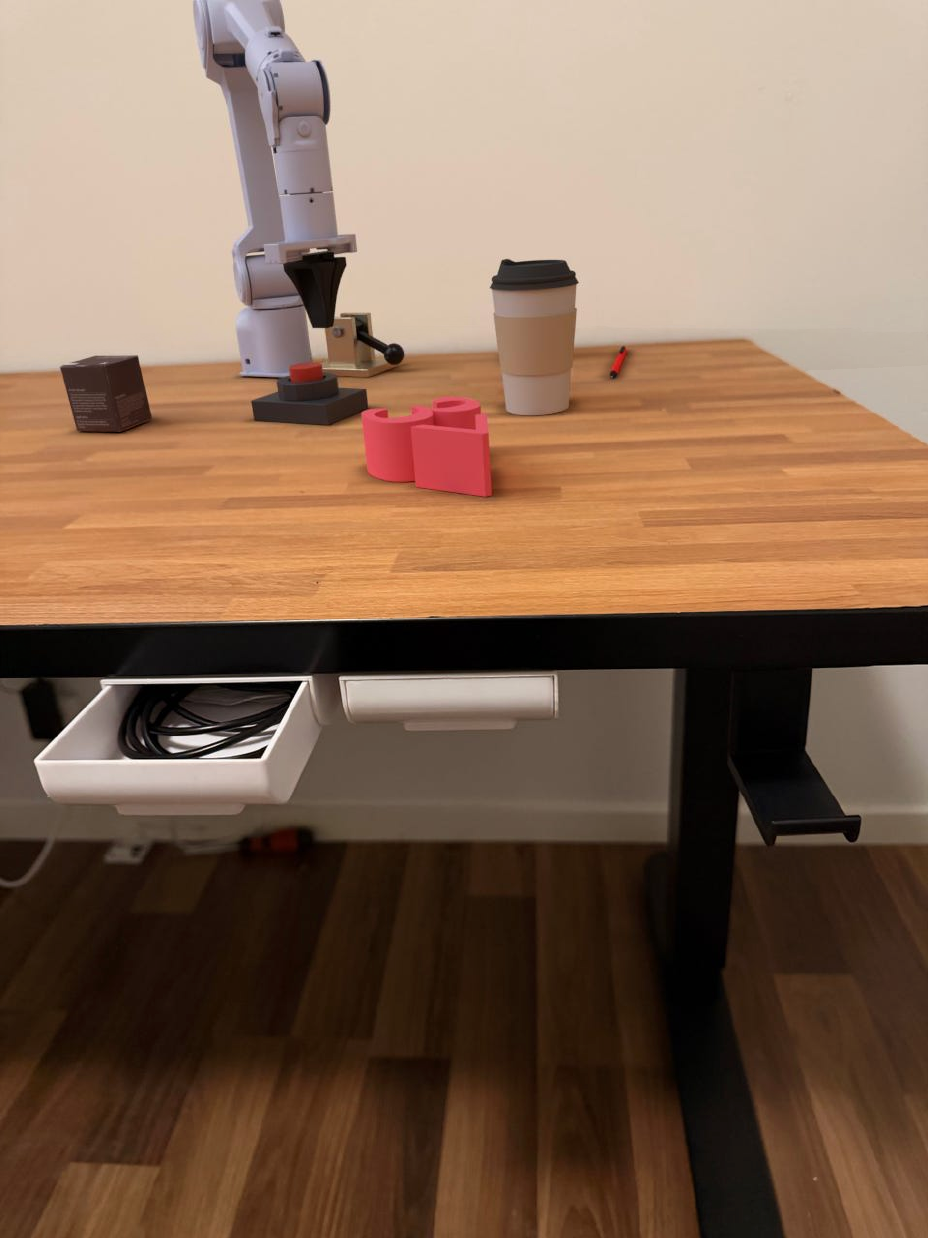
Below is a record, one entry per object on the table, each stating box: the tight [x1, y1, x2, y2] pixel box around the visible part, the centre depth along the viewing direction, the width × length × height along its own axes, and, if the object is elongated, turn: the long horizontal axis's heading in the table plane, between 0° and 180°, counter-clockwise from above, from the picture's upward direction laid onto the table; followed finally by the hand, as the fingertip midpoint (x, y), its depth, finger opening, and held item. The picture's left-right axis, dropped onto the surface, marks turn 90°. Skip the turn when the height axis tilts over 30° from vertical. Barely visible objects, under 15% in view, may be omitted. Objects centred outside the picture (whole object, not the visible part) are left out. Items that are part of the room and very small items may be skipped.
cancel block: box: [250, 373, 369, 426], centre depth 100 cm, size 10×8×4 cm
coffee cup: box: [489, 258, 580, 416], centre depth 94 cm, size 9×9×15 cm
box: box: [59, 354, 153, 433], centre depth 100 cm, size 6×6×7 cm
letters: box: [360, 396, 493, 498], centre depth 75 cm, size 14×10×5 cm
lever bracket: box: [320, 312, 400, 378], centre depth 122 cm, size 10×8×7 cm
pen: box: [609, 345, 628, 379], centre depth 116 cm, size 1×19×1 cm, turn 167°
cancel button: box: [289, 362, 324, 382], centre depth 99 cm, size 4×4×2 cm
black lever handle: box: [342, 315, 406, 365], centre depth 121 cm, size 10×3×3 cm, turn 63°
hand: (322, 327), depth 101 cm, fingers closed
